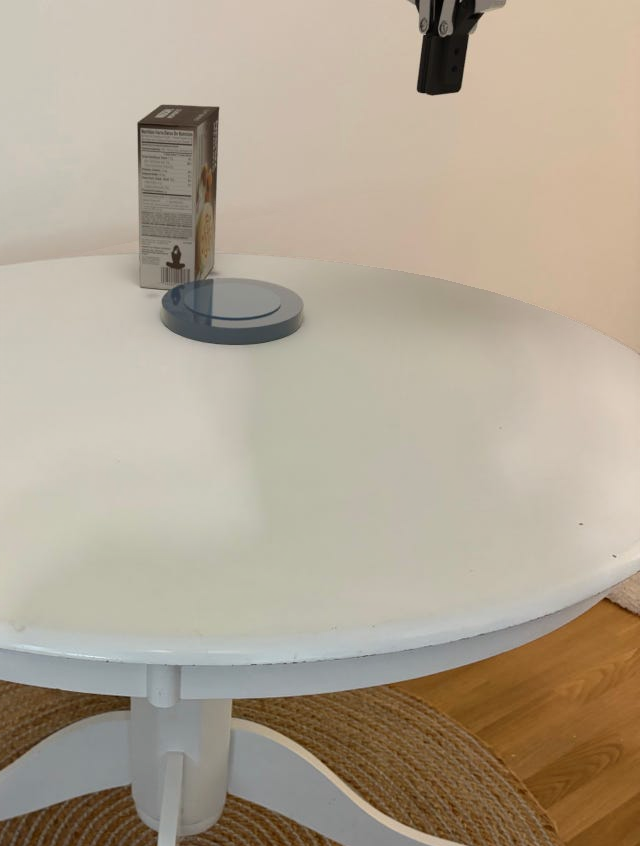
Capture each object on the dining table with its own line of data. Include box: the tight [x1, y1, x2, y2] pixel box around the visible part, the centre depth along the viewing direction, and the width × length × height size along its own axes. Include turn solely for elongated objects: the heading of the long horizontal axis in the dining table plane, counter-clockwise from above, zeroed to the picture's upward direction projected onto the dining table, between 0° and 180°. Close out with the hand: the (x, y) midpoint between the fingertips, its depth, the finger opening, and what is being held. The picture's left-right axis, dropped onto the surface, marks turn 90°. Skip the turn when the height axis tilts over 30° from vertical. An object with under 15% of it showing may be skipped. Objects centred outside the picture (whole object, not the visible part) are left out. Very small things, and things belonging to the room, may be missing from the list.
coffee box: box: [136, 104, 220, 291], centre depth 103 cm, size 9×6×16 cm
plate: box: [160, 277, 305, 345], centre depth 98 cm, size 14×14×2 cm
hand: (438, 91), depth 79 cm, fingers closed
